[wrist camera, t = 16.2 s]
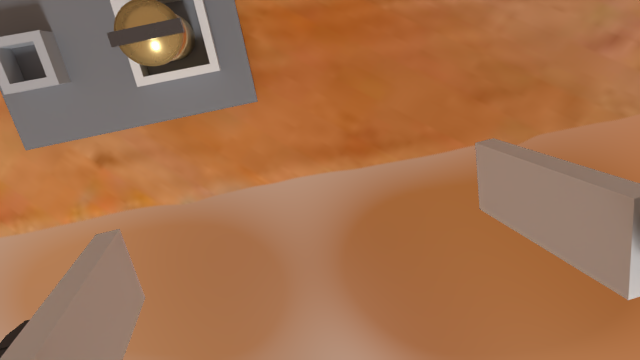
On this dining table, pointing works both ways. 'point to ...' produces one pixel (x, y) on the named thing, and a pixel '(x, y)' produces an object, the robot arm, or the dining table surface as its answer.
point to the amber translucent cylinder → (151, 33)
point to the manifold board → (112, 69)
